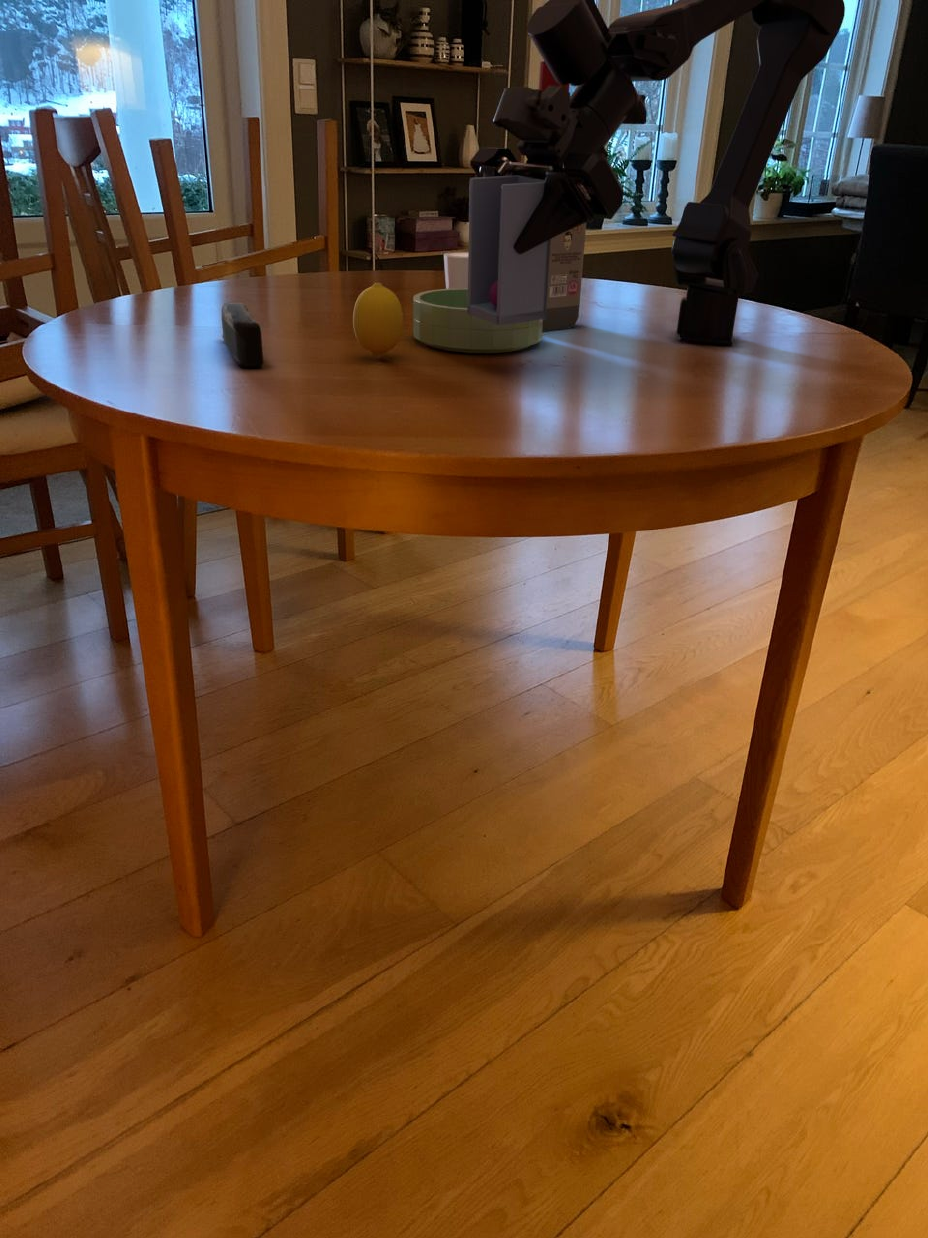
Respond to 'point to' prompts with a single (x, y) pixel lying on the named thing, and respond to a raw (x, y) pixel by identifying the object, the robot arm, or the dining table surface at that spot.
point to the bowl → (466, 325)
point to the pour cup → (505, 251)
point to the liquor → (563, 259)
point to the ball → (494, 293)
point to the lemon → (378, 319)
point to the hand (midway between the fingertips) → (494, 246)
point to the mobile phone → (242, 335)
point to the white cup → (456, 270)
